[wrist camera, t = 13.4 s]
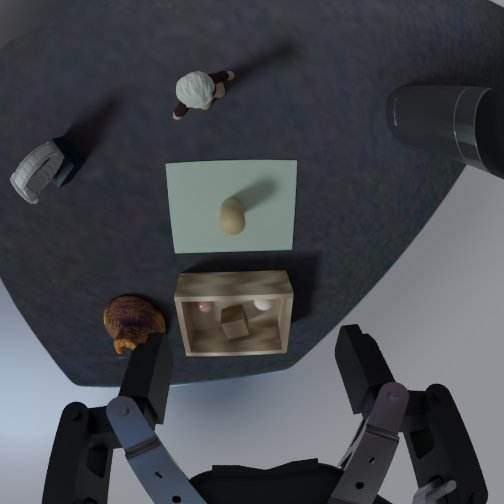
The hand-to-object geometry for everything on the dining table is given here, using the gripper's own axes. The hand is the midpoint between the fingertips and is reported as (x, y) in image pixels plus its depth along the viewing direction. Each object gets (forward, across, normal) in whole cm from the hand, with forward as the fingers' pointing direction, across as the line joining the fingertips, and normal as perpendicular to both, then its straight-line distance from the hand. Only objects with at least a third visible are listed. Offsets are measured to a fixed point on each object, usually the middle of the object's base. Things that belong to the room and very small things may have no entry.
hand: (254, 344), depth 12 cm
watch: (+27, +25, -6) cm, 37 cm away
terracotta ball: (+26, +6, +17) cm, 32 cm away
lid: (+28, +1, +3) cm, 28 cm away
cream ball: (+26, -3, +17) cm, 32 cm away
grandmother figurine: (+27, +4, -12) cm, 30 cm away
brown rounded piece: (+27, +20, +23) cm, 40 cm away
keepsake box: (+27, +2, +19) cm, 33 cm away
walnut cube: (+26, +2, +21) cm, 34 cm away
